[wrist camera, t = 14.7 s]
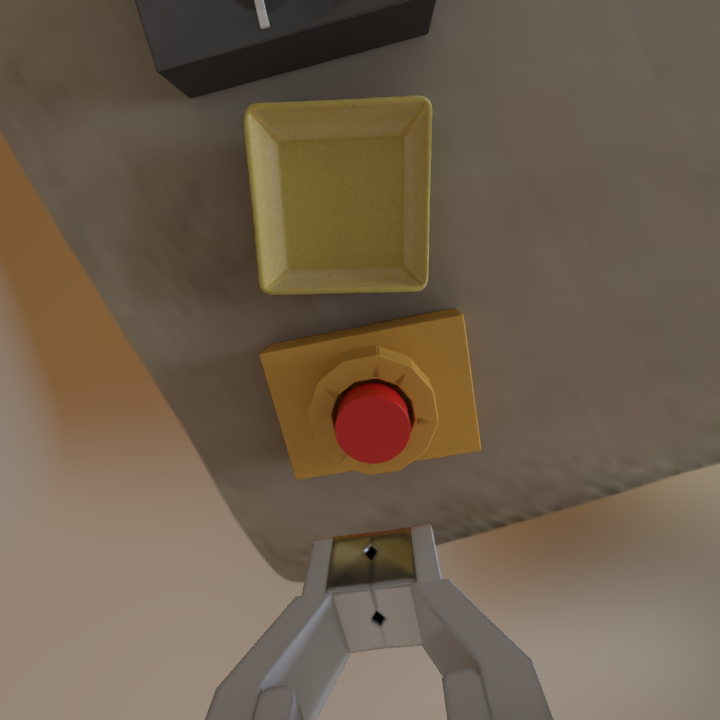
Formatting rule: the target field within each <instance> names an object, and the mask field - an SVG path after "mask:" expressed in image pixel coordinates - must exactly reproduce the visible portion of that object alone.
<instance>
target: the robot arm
mask: <svg viewBox="0 0 720 720" xmlns="http://www.w3.org/2000/svg"><path fill="white" fill-rule="evenodd" d="M412 646H423V648H424V649H425V651H426V652H427V654H428V655H429V657H430V658H431V660H432V661H433V662H434V664H435V666H436V667H437V668H438V670H439V672H440V673H441V675H442V676H443V678H442V682H443V690H444V697H445V704H446V712H447V719H448V720H553V717H552V715H551V712H550V710H549V707H548V704H547V701H546V699H545V696H544V693H543V690H542V688H541V685H540V682H539V680H538V677H537V674H536V671H535V669H534V666H533V663H532V661H531V659H530V658H529V657H528V656H526V654H525V653H524V652H522V651H521V650H520V649H519V648H518V647H517V646H516V645H515V644H514V643H513V642H512V641H511V640H510V639H509V638H508V637H507V636H506V635H505V634H504V633H503V632H502V631H501V630H500V629H499V628H498V627H497V626H496V625H495V624H494V623H493V622H492V621H491V620H490V619H489V618H488V617H487V616H486V615H485V614H484V613H483V612H482V611H480V609H479V608H477V606H476V605H474V604H473V603H472V602H471V601H470V600H469V599H468V598H467V597H466V596H465V595H464V594H463V593H462V592H461V591H460V590H459V589H458V588H457V587H456V586H455V585H454V584H453V583H452V582H451V581H450V580H449V579H442V578H441V573H440V567H439V562H438V557H437V553H436V547H435V541H434V536H433V531H432V526H431V525H430V524H426V525H419V526H413V527H408V528H401V529H394V530H387V531H380V532H373V533H365V534H356V535H347V536H338V537H333V538H323V539H316V540H315V541H314V543H313V545H312V550H311V555H310V559H309V564H308V569H307V573H306V578H305V583H304V587H303V592H302V596H299V597H295V598H294V599H293V601H292V602H291V603H290V604H289V606H287V608H286V609H285V610H284V611H283V612H282V613H281V615H280V616H279V617H278V618H277V619H276V620H275V621H274V623H273V624H272V625H271V626H270V627H269V628H268V630H267V631H266V632H265V633H264V634H263V635H262V636H261V638H260V639H259V640H258V641H257V642H256V643H255V645H254V646H253V647H252V648H251V649H250V650H249V652H248V653H247V654H246V655H245V656H244V657H243V658H242V660H241V661H240V662H239V663H238V664H237V665H236V667H235V668H234V669H233V670H232V671H231V672H230V674H229V675H228V676H227V677H226V678H225V679H224V681H223V682H222V683H221V684H220V685H219V686H218V687H217V689H216V691H215V694H214V696H213V699H212V702H211V705H210V707H209V710H208V713H207V716H206V718H205V720H316V719H317V718H318V716H319V714H320V712H321V710H322V708H323V706H324V704H325V702H326V700H327V698H328V696H329V695H330V693H331V691H332V689H333V687H334V685H335V683H336V681H337V679H338V677H339V676H340V674H341V672H342V670H343V668H344V666H345V664H346V662H347V660H348V658H349V656H350V655H349V653H355V652H362V651H369V650H376V649H384V648H396V647H412Z"/></svg>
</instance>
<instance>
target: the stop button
mask: <svg viewBox="0 0 720 720" xmlns="http://www.w3.org/2000/svg"><path fill="white" fill-rule="evenodd" d="M410 434H411V426H410V420H409V415H408V409H407V406H406V403H405V401H404V399H403V398H402V396H401V395H400V394H399V393H398V392H397V391H396V390H394V389H393V388H391V387H389V386H387V385H385V384H381V383H365V384H361V385H358V386H356V387H354V388H353V389H351V390H350V391H349V392H348V393H347V394H346V395H345V396H344V397H343V399H342V401H341V403H340V406H339V410H338V414H337V418H336V422H335V435H336V439H337V441H338V443H339V445H340V447H341V448H342V450H343V451H344V452H345V453H346V454H347V455H349V456H350V457H352V458H353V459H355V460H357V461H360V462H364V463H369V464H377V463H383V462H386V461H389V460H391V459H393V458H395V457H396V456H398V455H399V454H400V453H401V452H402V451H403V450H404V448H405V447H406V445H407V443H408V441H409V438H410Z"/></svg>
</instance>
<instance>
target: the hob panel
mask: <svg viewBox="0 0 720 720" xmlns="http://www.w3.org/2000/svg"><path fill="white" fill-rule="evenodd" d="M135 2H136V5H137V9H138V12H139V15H140V18H141V22H142V25H143V28H144V31H145V35H146V38H147V41H148V44H149V48H150V51H151V54H152V57H153V61H154V64H155V67H156V70H157V72H158V73H159V74H161V75H162V76H163V77H164V78H166V79H167V80H168V81H169V82H171V83H172V84H173V85H174V86H176V87H177V88H178V89H179V90H181V91H182V92H183V93H184V94H185V95H187V96H188V97H189V98H193V97H197V96H200V95H204V94H208V93H211V92H215V91H219V90H222V89H226V88H230V87H233V86H237V85H241V84H244V83H248V82H252V81H255V80H259V79H263V78H266V77H270V76H274V75H278V74H281V73H285V72H289V71H292V70H296V69H300V68H303V67H307V66H311V65H314V64H318V63H322V62H325V61H329V60H333V59H336V58H340V57H344V56H347V55H351V54H355V53H358V52H362V51H366V50H369V49H373V48H377V47H380V46H384V45H388V44H391V43H395V42H399V41H402V40H406V39H410V38H413V37H417V36H421V35H425V34H427V33H428V32H429V28H430V24H431V19H432V15H433V11H434V7H435V3H436V0H135Z"/></svg>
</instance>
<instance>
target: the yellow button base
mask: <svg viewBox="0 0 720 720" xmlns="http://www.w3.org/2000/svg"><path fill="white" fill-rule="evenodd" d="M260 358H261V362H262V365H263V369H264V372H265V375H266V379H267V382H268V385H269V389H270V392H271V396H272V399H273V402H274V406H275V409H276V413H277V416H278V419H279V423H280V426H281V429H282V433H283V436H284V440H285V443H286V446H287V450H288V453H289V457H290V460H291V463H292V467H293V470H294V473H295V477H296V479H297V480H298V479H305V478H311V477H317V476H324V475H330V474H336V473H343V472H349V471H357V472H361V473H364V474H367V475H373V474H379V473H386V472H392V471H399V470H401V469H403V468H404V467H405V466H407V465H408V464H410V463H411V462H412V461H419V460H425V459H431V458H438V457H444V456H450V455H457V454H463V453H469V452H476V451H481V443H480V436H479V428H478V421H477V413H476V405H475V398H474V390H473V382H472V375H471V367H470V360H469V352H468V344H467V337H466V329H465V322H464V315H463V314H462V313H460V312H459V311H458V310H457V309H455V308H452V309H447V310H442V311H437V312H432V313H427V314H422V315H417V316H412V317H406V318H401V319H396V320H391V321H386V322H381V323H376V324H371V325H366V326H361V327H356V328H351V329H346V330H340V331H335V332H330V333H325V334H320V335H315V336H310V337H305V338H300V339H295V340H290V341H285V342H279V343H274V344H270V345H269V346H268V347H267V348H266V349H265V350H264V351H263V352H262V353H260ZM365 383H381V384H385V385H387V386H389V387H391V388H393V389H394V390H396V391H397V392H398V393H399V394H400V395H401V396H402V398H403V399H404V401H405V403H406V406H407V409H408V415H409V420H410V426H411V434H410V438H409V441H408V443H407V445H406V447H405V448H404V450H403V451H402V452H401V453H400V454H399V455H398V456H396V457H395V458H393V459H391V460H389V461H386V462H383V463H377V464H369V463H364V462H360V461H357V460H355V459H353V458H352V457H350V456H349V455H347V454H346V453H345V452H344V451H343V450H342V448H341V447H340V445H339V443H338V441H337V439H336V435H335V422H336V418H337V414H338V410H339V406H340V403H341V401H342V399H343V397H344V396H345V395H346V394H347V393H348V392H349V391H350V390H351V389H353V388H354V387H356V386H358V385H361V384H365Z"/></svg>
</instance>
